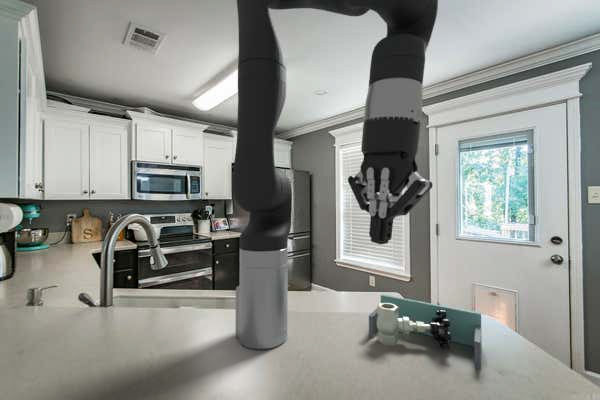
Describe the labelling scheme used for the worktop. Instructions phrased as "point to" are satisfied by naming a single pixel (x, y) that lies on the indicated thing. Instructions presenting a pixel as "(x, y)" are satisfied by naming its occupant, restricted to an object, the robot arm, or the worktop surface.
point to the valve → (409, 326)
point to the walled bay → (461, 321)
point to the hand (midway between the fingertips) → (379, 242)
